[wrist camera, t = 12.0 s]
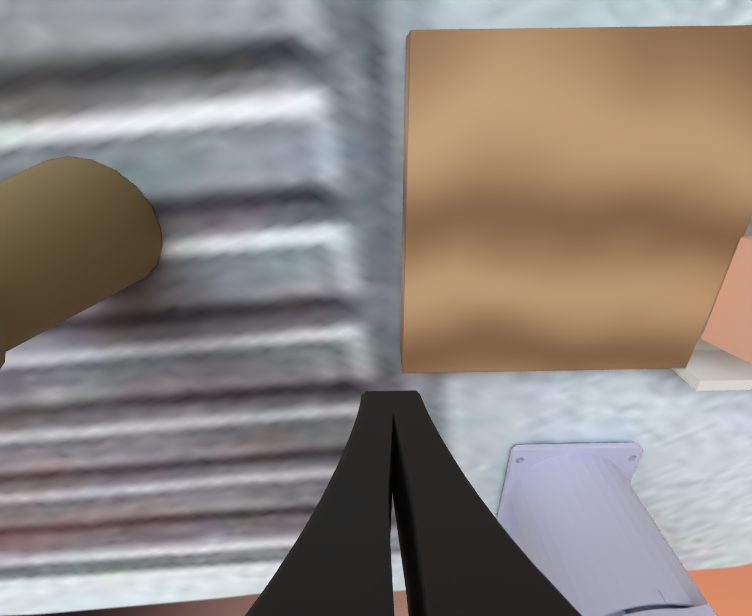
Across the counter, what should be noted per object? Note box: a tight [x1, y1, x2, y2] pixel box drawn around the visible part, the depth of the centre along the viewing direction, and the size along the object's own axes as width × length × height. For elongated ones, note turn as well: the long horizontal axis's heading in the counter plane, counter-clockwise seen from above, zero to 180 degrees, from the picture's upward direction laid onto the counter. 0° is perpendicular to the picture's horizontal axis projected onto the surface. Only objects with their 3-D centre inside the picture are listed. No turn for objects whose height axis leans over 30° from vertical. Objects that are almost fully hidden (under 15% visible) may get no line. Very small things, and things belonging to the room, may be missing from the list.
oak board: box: [400, 25, 752, 373], centre depth 17 cm, size 14×14×2 cm
